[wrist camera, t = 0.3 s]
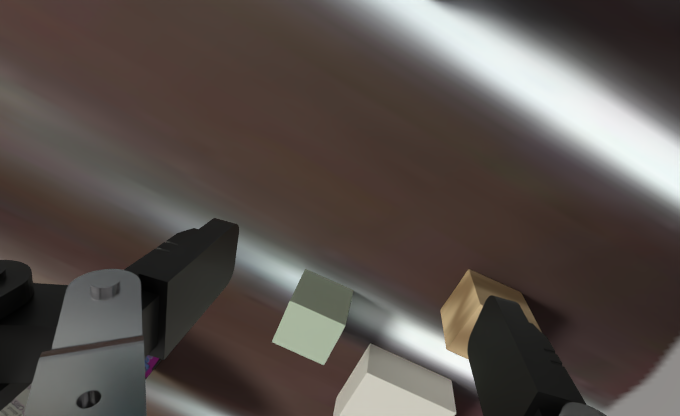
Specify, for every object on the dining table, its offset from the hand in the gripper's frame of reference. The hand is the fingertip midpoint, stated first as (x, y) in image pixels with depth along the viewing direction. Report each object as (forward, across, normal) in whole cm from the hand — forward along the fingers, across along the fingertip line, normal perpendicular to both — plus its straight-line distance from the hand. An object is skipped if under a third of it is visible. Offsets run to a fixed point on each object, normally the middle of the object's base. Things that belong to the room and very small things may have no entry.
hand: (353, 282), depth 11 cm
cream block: (+20, -8, +24) cm, 32 cm away
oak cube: (+19, -12, +10) cm, 25 cm away
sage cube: (+19, +2, +15) cm, 24 cm away
